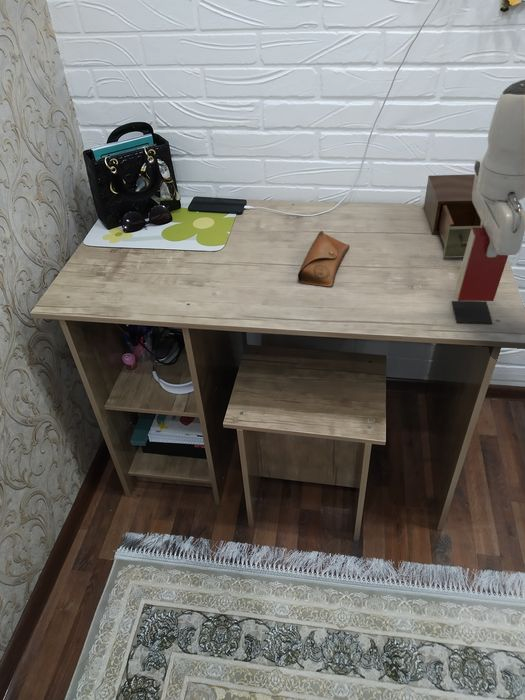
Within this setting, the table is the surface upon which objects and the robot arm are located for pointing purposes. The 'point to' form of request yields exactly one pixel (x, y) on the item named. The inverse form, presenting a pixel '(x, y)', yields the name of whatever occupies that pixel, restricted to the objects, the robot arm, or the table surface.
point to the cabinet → (446, 195)
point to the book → (479, 270)
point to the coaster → (471, 312)
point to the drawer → (457, 227)
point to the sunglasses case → (322, 261)
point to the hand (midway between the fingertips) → (487, 248)
